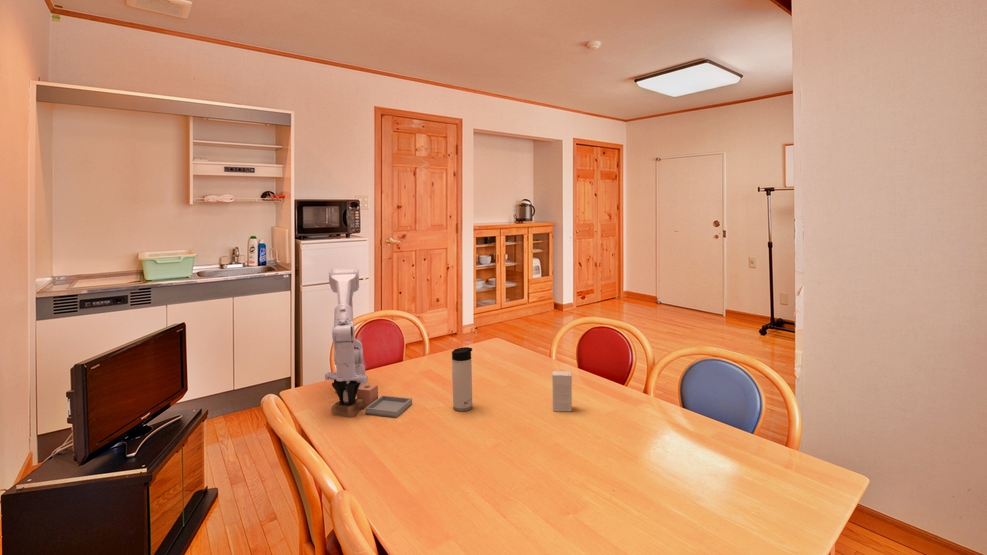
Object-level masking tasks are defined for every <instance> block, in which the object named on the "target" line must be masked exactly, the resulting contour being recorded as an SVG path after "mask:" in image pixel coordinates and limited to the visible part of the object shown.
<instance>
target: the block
mask: <svg viewBox="0 0 987 555" xmlns="http://www.w3.org/2000/svg"><path fill="white" fill-rule="evenodd" d="M378 398H379V386H378V384H370V383H367V384H363V385H362V386H360V387H359V388H358V390H357V394H356V399H363V405H364V408H366V407H367V406H369V405H370V404H371V403H373V402H374V401H375V400H377V399H378Z"/></svg>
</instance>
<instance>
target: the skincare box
mask: <svg viewBox="0 0 987 555" xmlns="http://www.w3.org/2000/svg"><path fill="white" fill-rule="evenodd" d="M551 375H552V376H551V380H552V382H551V383H552V411H553V412H572V411H573V408H572V407H573V406H572V404H573V403H572V402H573V401H572V400H573V399H572V398H573V397H572V396H573V395H572V394H573V391H572V389H573V388H572V385H573V384H572V380H573V378H572V372H571V371H568V370H565V371H563V370H562V371H561V370H554V371H553V370H552V373H551Z"/></svg>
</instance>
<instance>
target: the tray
mask: <svg viewBox="0 0 987 555" xmlns="http://www.w3.org/2000/svg"><path fill="white" fill-rule="evenodd" d="M412 405H413V398H412V397H401V396H392V395H384V394H382V395H381V396H378V399H377V400H375V401H374V402H373V403H371V404H370V405H369V406H367V407H364V413H365V415H367V416H377V417H378V416H379V417H384V418H385V417H386V418H395V419H397V418H398V417H400V416H401V415H402V414H403V413H404V412H406V410H407V409H409V408H410V407H411V406H412Z"/></svg>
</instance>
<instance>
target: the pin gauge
mask: <svg viewBox="0 0 987 555" xmlns="http://www.w3.org/2000/svg"><path fill="white" fill-rule="evenodd" d="M342 394H343V405H345V406H351V405H352V404H349V395H348V391H347V388H344V389H342Z"/></svg>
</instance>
